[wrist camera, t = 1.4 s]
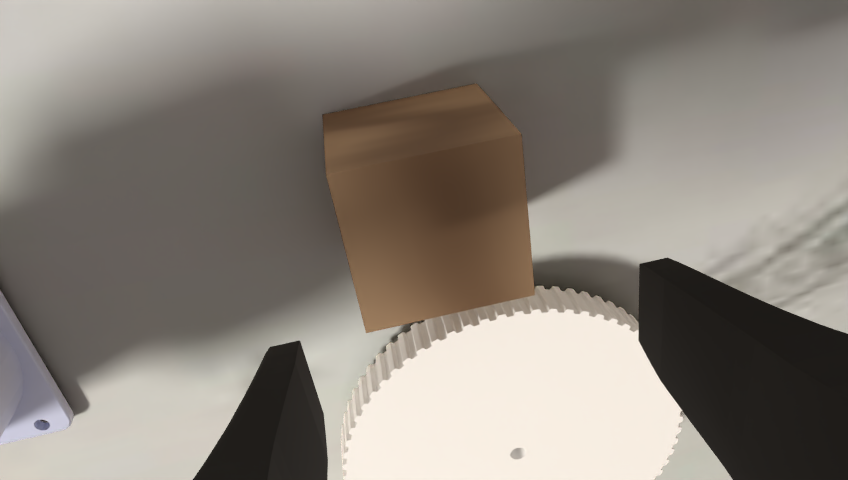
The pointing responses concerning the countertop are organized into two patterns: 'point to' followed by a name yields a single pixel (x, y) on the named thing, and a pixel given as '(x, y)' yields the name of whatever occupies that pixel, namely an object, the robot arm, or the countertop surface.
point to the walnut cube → (430, 205)
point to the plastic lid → (513, 397)
